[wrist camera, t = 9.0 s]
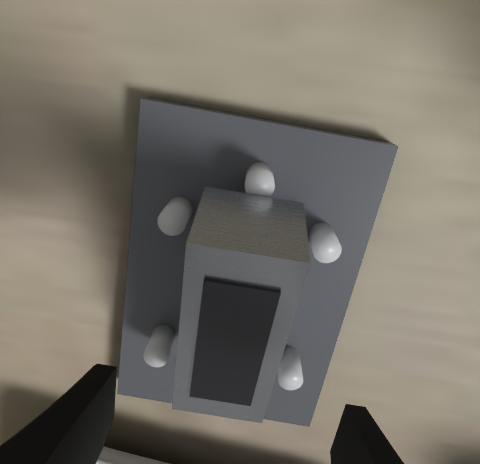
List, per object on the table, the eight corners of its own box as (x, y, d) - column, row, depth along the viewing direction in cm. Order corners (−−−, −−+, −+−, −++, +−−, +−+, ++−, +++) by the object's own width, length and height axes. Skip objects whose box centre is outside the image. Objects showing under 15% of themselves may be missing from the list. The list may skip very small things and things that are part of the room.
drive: (303, 202, 16) (310, 266, 13) (264, 351, 21) (261, 426, 18) (205, 186, 16) (185, 245, 13) (188, 338, 21) (171, 412, 18)
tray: (391, 142, 18) (413, 154, 15) (307, 412, 24) (313, 454, 21) (146, 97, 18) (127, 101, 15) (122, 381, 24) (105, 419, 21)
